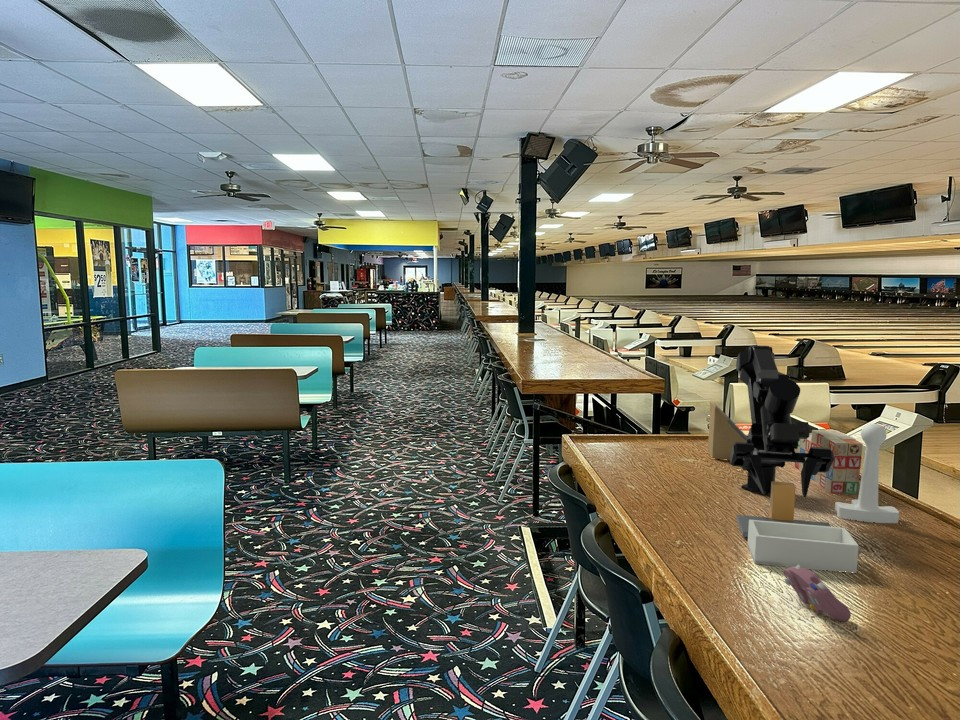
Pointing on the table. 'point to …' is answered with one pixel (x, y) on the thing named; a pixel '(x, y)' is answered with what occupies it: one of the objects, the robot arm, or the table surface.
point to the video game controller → (815, 593)
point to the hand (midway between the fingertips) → (784, 494)
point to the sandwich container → (722, 433)
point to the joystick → (869, 484)
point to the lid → (778, 508)
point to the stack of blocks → (835, 460)
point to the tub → (802, 546)
